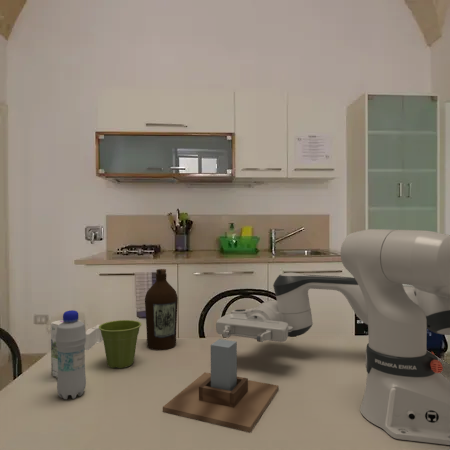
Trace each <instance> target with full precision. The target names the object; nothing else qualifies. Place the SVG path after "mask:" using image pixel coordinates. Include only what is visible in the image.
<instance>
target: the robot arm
mask: <svg viewBox="0 0 450 450" xmlns="http://www.w3.org/2000/svg"><path fill="white" fill-rule="evenodd" d="M339 253H340V254H339V255H340V260H341V262H342V263H341V264H342V265H343V267H344V268H345V270H347V272H348V273H350V275H351V276H352V277H350V276H339V275H337V276H335V275H321V274H319V275H318V274H316V275H315V274H302V273H298V272H291V271H290V272H285V273H282V274H279V275H278V276H277V277H276V279H275V281H274V282H273V285H272V286H273V291H274V293H275V297H276V300H267V301H264V302H262V303H259V305H258V306H256V307H251V308H246V309H243V308H242V309H232V310H231V311H230V313H227V314H225V315H223V316H222V317H219V318H217V320H216V322H215V330H216V331H215V332H216V333H217V334H219V335H222V337H223V338H230V337H231V336H232V337H240V338H248V339H254V340H256V341H257V342H258V343H259V342H260V343H263V342H264V341H272V342H278V343H279V342H280V343H283V342H286V341H287V340H288V337H289V338H290V337H292V338H293V337H297V336H302V335H304V334H306V333H307V332H308V331H309V330H310V329H311V328H312V326H313V324H314V323H313V316H312V309H311V303H310V298H309V290H310V289H311V290H312V289H313V290H327V291H328V290H329V291H330V290H331V291H338V292H339V293H341V294H342V295H343V296H344V297H345V298H346V300H347V301H348V303H349V306H350V307H351V309H352V311H353V312H354V313H355V315H356V316H357V318H358V319H359V320H360V321H361V322H363V323H364V324H365V325H367V327H368V328H367V329H368V331H367V332H368V333H367V334H368V343H367V345H366V349H365V368H366V369H365V370H366V372H367V373H366V382H365V387H364V388H365V389H364V395H363V398H362V401H361V405H360V407H359V409H360V412H361V415H362V416H363V417H364V418H365V419H366V420H368V421H369V422H370V423H371V424H373V425H374V426H377V427H379V428H380V429H383V431H384V432H386V433H387V435H389V436H390V437H392V438H394V439H396V440H403V441H412V442H420V443H427V444H437V445H438V444H439V445H447V446H450V380H449V379H448V378H447V377H446V376H444V375H443V374H442V372H443V370H444V368H443V367H444V366H443V364H442V362H441V361H440V360H438V359H439V358H438V357H437V355H435V353H434V352H433V351H429V350H428V349H427V344H428V343H427V342H428V341H427V335H428V334H427V330H428V331H430V332H432V333H434V334H437V335H438V334H439V335H447V336H450V234H447V233H443V232H438V231H432V230H427V229H426V230H424V229H423V230H421V229H420V230H419V229H417V230H415V229H414V230H413V229H388V228H387V229H384V228H383V229H381V228H380V229H377V228H369V229H363V230H362V229H361V230H358V231H355V232H350V233H349V234H347V236H346V237H345V238H344V239H343V242H342V243H341V247H340V252H339ZM407 285H408V286H407Z"/></svg>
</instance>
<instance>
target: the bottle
mask: <svg viewBox="0 0 450 450" xmlns="http://www.w3.org/2000/svg"><path fill="white" fill-rule="evenodd" d="M62 319H63V323H61V324H59V325H58V327H57V334H56V346H57V348H58V378H56V379H57V380H56V383H57V385H56V391H57V394H58V397H59V398H63V400H68V399H69V396H71V399H73V400H75V399H76V398H77V396H78V397H80V396H82V395H84V392H85V389H86V386H87V385H86V384H87V381H86V380H87V378H86V368H85V367H86V366H85V365H86V362H85V361H86V355H85V353H86V350H85V343H86V331H87V330H86V325H85V322H83V321H81V320H79V312H78V311H77V310H75V309H73V310H67V311H65V312H64V313H63V315H62ZM78 320H79V321H78Z"/></svg>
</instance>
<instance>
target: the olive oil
mask: <svg viewBox="0 0 450 450" xmlns="http://www.w3.org/2000/svg"><path fill="white" fill-rule="evenodd" d="M155 271H156V274H155V282H154V283H153V284H152V286H150V288H149V289H148V290H147V291H146V293H145V296H144V297H145V298H144V306H145V308H144V309H145V326H146V346H147V348H148V349H150V350H155V351H164V350H166V351H167V350H171V349H173V348H174V347H176V345H177V326H178V325H177V323H178V303H179V302H178V301H179V298H178V295H177V291H176V290H175V288H174V287H173V286H172V285H171V284H170V283H169V282H168V281H167V269H165V268H159V269H158V268H157V269H156V270H155Z"/></svg>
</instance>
